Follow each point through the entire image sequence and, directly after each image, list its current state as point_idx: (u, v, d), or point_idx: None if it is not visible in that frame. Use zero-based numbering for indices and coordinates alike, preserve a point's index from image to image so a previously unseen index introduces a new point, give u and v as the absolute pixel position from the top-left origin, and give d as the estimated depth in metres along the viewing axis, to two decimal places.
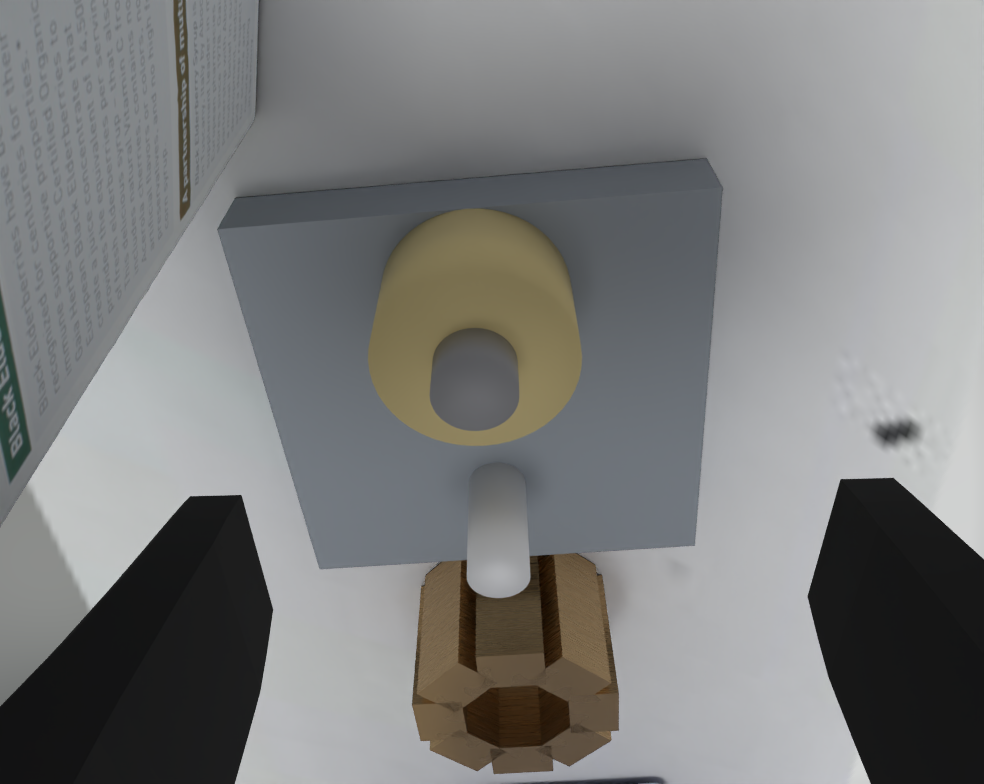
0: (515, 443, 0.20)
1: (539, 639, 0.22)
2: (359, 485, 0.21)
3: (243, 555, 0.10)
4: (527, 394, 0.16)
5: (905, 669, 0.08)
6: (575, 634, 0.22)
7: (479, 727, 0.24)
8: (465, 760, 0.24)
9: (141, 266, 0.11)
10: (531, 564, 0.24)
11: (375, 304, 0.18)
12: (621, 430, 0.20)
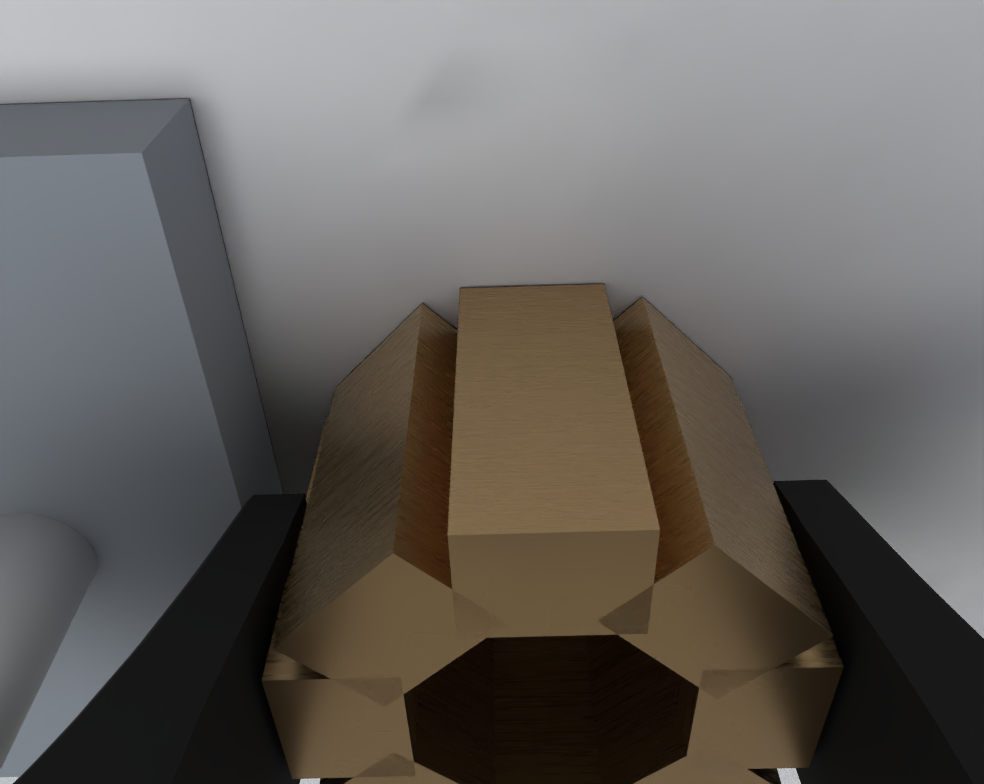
0: None
1: (273, 648, 0.08)
2: None
3: None
4: None
5: None
6: (325, 540, 0.08)
7: (628, 755, 0.09)
8: None
9: None
10: None
11: None
12: None
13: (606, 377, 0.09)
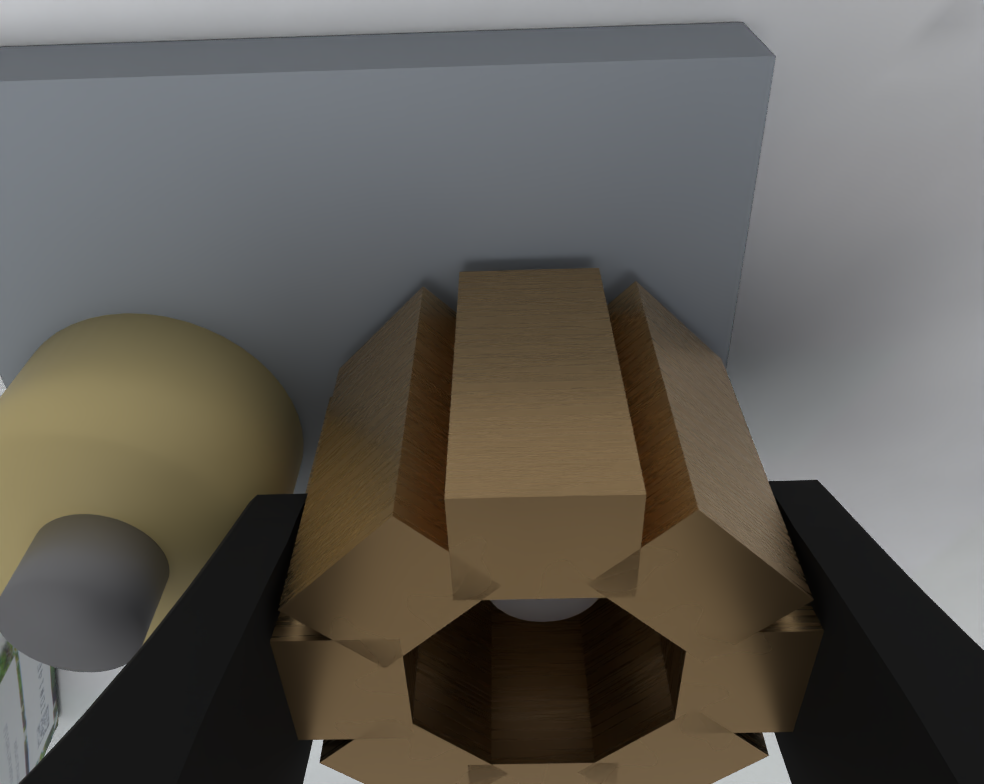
0: None
1: None
2: None
3: None
4: (145, 504, 0.10)
5: (818, 671, 0.08)
6: (328, 509, 0.09)
7: (620, 720, 0.10)
8: (710, 770, 0.10)
9: None
10: None
11: None
12: (416, 230, 0.11)
13: (598, 354, 0.09)
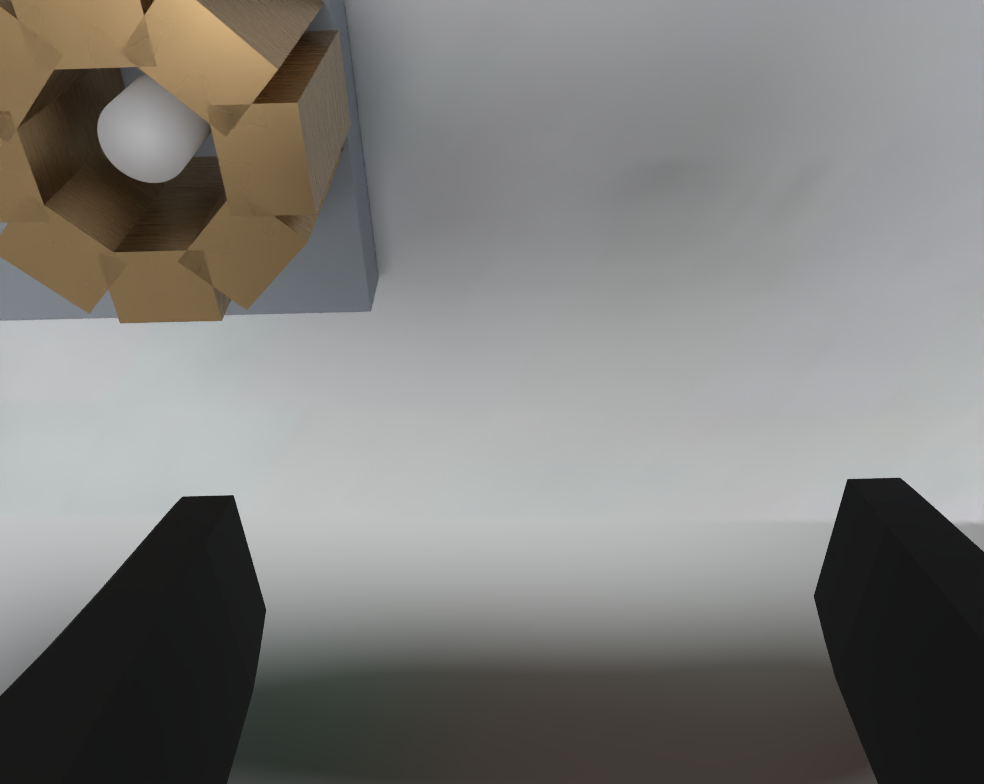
0: None
1: None
2: None
3: (234, 555, 0.10)
4: None
5: (913, 669, 0.08)
6: None
7: (206, 222, 0.14)
8: (272, 258, 0.14)
9: None
10: None
11: None
12: None
13: None
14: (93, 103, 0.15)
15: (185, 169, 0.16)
